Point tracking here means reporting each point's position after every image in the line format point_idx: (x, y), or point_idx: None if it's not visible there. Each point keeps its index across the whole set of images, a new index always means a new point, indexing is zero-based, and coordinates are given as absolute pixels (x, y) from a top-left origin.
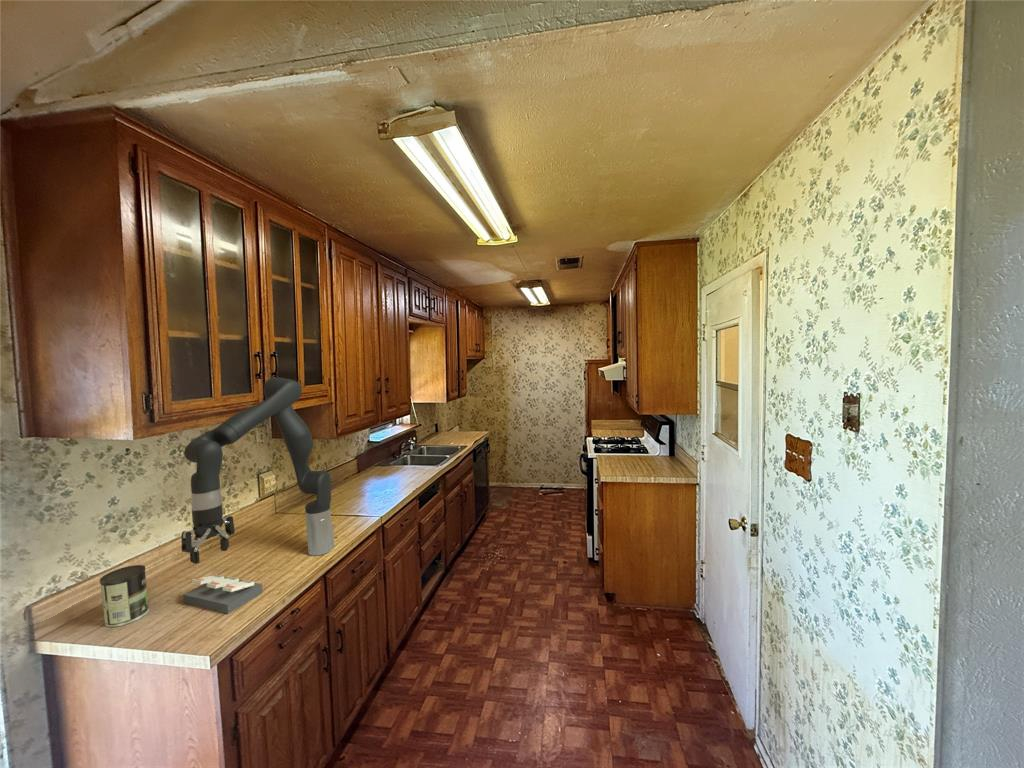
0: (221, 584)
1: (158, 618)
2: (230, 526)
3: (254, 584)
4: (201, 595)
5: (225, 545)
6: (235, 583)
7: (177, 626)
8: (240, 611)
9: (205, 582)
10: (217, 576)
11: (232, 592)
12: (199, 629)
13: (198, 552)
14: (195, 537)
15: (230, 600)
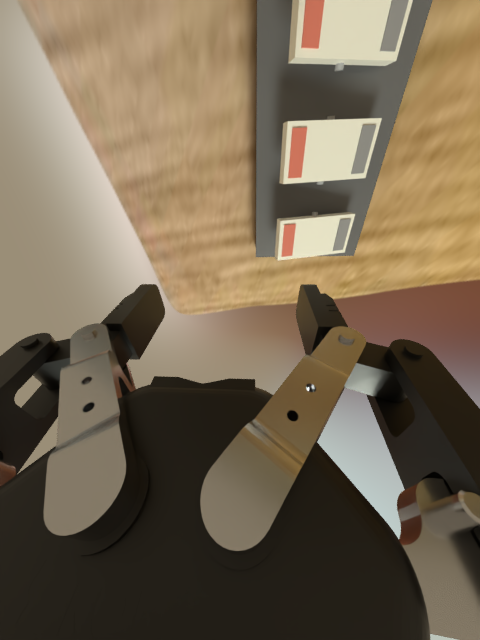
0: (301, 182)
1: (165, 22)
2: (397, 458)
3: (351, 235)
4: (272, 105)
5: (302, 336)
6: (318, 221)
7: (181, 170)
8: (270, 265)
9: (311, 62)
10: (388, 26)
11: (305, 211)
12: (200, 241)
13: (140, 352)
14: (79, 402)
15: (271, 246)
